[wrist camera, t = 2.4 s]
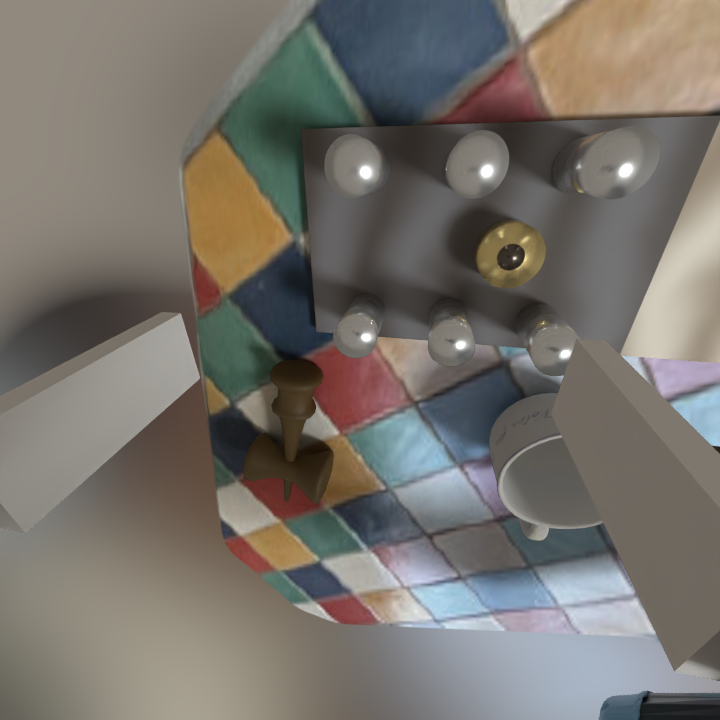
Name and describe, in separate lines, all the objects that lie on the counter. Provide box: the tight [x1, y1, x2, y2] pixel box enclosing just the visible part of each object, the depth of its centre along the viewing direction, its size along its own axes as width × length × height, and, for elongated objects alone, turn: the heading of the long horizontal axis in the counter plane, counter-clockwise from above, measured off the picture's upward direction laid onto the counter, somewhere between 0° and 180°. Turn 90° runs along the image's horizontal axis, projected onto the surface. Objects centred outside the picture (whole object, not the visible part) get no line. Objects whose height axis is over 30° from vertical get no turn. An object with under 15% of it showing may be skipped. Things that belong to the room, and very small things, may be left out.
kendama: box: [243, 359, 334, 504], centre depth 38 cm, size 6×10×20 cm
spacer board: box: [301, 116, 720, 363], centre depth 25 cm, size 38×16×1 cm, turn 90°
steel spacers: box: [324, 126, 660, 376], centre depth 23 cm, size 17×14×6 cm
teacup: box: [489, 393, 603, 541], centre depth 30 cm, size 14×11×8 cm
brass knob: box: [474, 219, 546, 288], centre depth 24 cm, size 4×4×2 cm
